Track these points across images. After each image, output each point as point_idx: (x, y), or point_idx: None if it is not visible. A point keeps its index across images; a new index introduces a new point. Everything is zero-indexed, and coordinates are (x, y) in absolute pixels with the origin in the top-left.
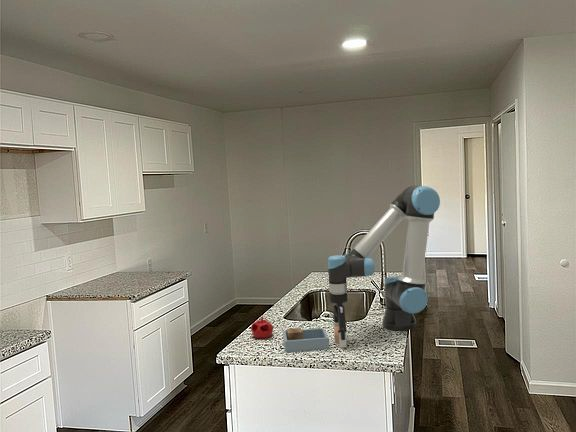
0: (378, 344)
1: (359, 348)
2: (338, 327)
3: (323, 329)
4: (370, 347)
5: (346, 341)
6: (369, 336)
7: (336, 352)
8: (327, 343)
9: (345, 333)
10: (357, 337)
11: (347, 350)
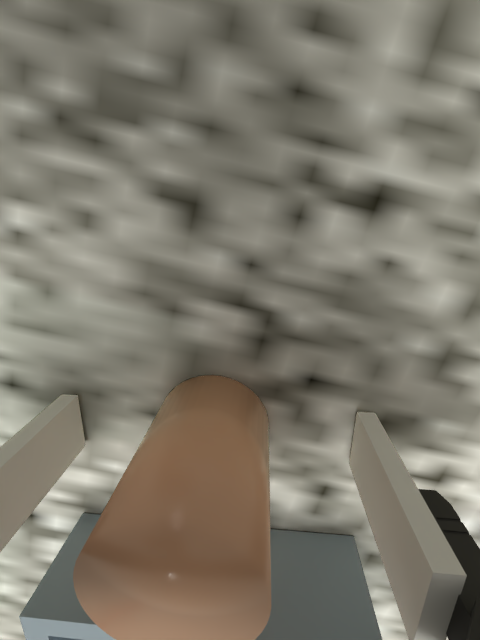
0: (414, 19)
1: (451, 299)
2: (228, 626)
3: (75, 631)
4: (477, 166)
5: (231, 384)
6: (73, 76)
7: (459, 506)
8: (364, 596)
9: (446, 548)
10: (95, 238)
11: (454, 418)
